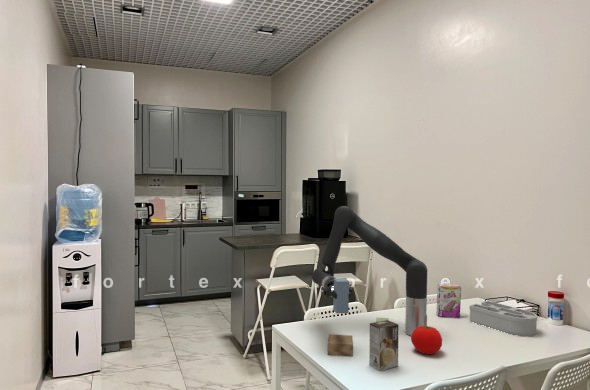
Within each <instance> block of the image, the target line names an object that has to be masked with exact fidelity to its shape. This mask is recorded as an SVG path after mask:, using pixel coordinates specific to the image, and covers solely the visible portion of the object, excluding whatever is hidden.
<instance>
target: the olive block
mask: <svg viewBox="0 0 590 390" xmlns="http://www.w3.org/2000/svg"><path fill="white" fill-rule="evenodd" d="M385 320H389V321H390V318H387V317H376V321H375V322H380V321H385Z"/></svg>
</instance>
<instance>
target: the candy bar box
mask: <svg viewBox="0 0 590 390" xmlns="http://www.w3.org/2000/svg"><path fill="white" fill-rule="evenodd" d="M461 301H462V286H460V285H459V284H449V283H448V284H447V283H446V284H443V283H438V284H437V289H436V316H437V317H439V318H453V317H460V318H461Z"/></svg>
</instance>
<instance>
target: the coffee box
mask: <svg viewBox="0 0 590 390" xmlns="http://www.w3.org/2000/svg"><path fill="white" fill-rule="evenodd" d="M368 353H369V357H368V358H369V360H368V362H369V366H371V367H372V368H375V369H376V370H377V371H379V372H380V371H384V370H387V369H392V368H395V367H398V366H399V324H398V323H395V322H394V321H391V320H390V319H389V320H385V321H380V322H376V321H375V322H370V323H369V352H368Z"/></svg>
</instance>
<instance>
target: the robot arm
mask: <svg viewBox="0 0 590 390" xmlns="http://www.w3.org/2000/svg"><path fill="white" fill-rule="evenodd" d="M347 229H348V230H350V231H351V232H353V233H354V234H355V235H357V237H359V238H360V239H361V240H362V241H363V242H364V243H365V244H366V245H367V246H368V247H369V248H370V249H371V250H373V251H374V252H375V253H377V254H378V255H379V256H381V257H382V258H385V259H387V260H388V261H391V262H393V263H395V264H396V265H397V266H399V267H400V268H401V269H402V270H403V271H404V272H405V319H404V320H405V321H404V322H405V324H404V325H405V332H404V333H405V334H406V335H408V336H410V337H411V335H412V333H413V331H414V330H415V329H416V328H418V327H420V326H428V314H427V304H428V299H427V298H428V268H427V265H426V263H424V262H423V261H422V260H419V259H418V258H416V257H415V256H413V255H411V254H410V253H408V252H407V251H406V250H404V249H403V248H402V247H401V246H400V245H399V244H398V243H396V242H395V241H394V240H392V239H391V238H390V237H389V236H388V235H387V234H385V233H383V231H381V230H380V229H377V228H376V227H375V226H372V225H370V224H369V223H367V222H366V221H365V220H363V218H361V217H360V216H359V215H358V214H356V213H355V212H354V210H353V209H351V207H349V206H347V205H341V206H339V207H337V208H336V210H335V212H334V217H333V222H332V227H331V231H330V235H329V238H328V240H327V243H326V245H325V248H324V250H323V254H322V256H321V261H320V263H321V264H322V265H324V266H325V267H327V270H325V269H322V268H315V269H314V270H313V271H312V274H311V281H313V283H314V284H316V285H318V286H320V294H321V295H323V296H324V297H325V296H326V297H331V298H335V299H337V293H336V292H335V291H334V279H337V277H335V267H336V263H337V260H338V257H339V254H340V252H341V248H342V247H341V246H342V244H343V243H342V242H343V240H344V239H343V238H344V235H345V233H346V230H347ZM352 297H353V287H352V286H350V285H349V299H351V298H352Z"/></svg>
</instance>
